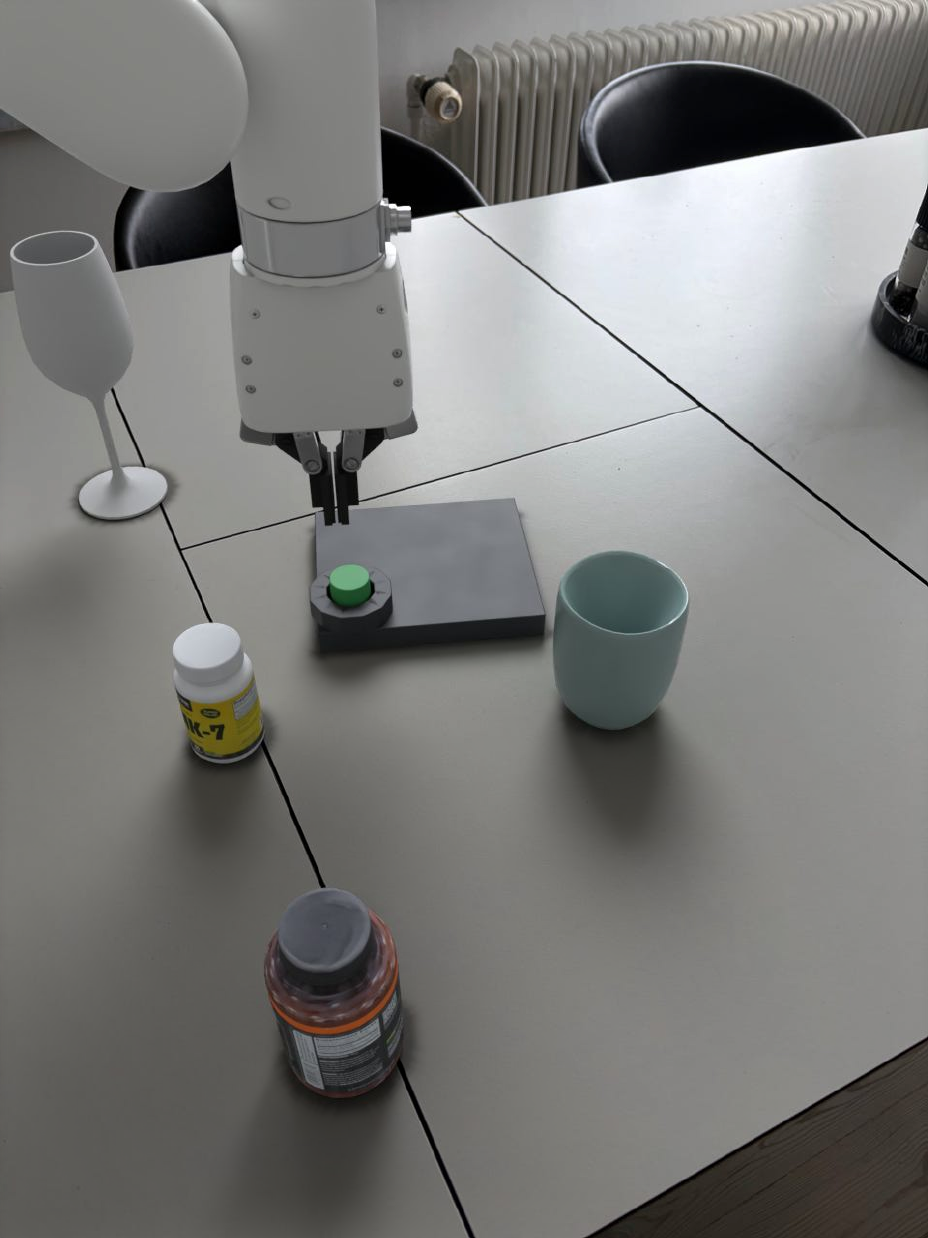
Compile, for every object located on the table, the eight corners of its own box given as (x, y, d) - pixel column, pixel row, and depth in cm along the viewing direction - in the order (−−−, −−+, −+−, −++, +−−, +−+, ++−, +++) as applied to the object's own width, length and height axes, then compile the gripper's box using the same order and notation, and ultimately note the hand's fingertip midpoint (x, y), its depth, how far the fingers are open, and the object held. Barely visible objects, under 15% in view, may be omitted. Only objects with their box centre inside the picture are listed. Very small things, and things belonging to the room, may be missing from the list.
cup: (525, 697, 67) (532, 585, 61) (606, 645, 71) (621, 533, 64) (609, 767, 63) (627, 655, 56) (690, 708, 67) (716, 596, 60)
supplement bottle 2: (289, 989, 52) (259, 868, 45) (403, 982, 53) (393, 860, 45) (282, 1108, 48) (247, 996, 40) (407, 1099, 48) (396, 986, 41)
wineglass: (61, 491, 84) (-22, 245, 70) (143, 457, 88) (80, 217, 74) (103, 533, 80) (24, 281, 66) (187, 495, 84) (130, 249, 70)
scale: (315, 657, 70) (309, 620, 68) (312, 531, 81) (308, 495, 78) (545, 637, 72) (548, 601, 69) (513, 516, 82) (515, 480, 80)
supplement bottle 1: (175, 748, 64) (147, 655, 58) (221, 700, 67) (199, 607, 61) (235, 777, 63) (212, 684, 57) (280, 726, 66) (263, 633, 60)
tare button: (331, 608, 69) (329, 591, 68) (330, 582, 71) (328, 565, 70) (372, 605, 70) (370, 588, 68) (369, 579, 72) (368, 562, 70)
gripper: (446, 201, 56) (444, 473, 69) (174, 208, 55) (222, 486, 67) (462, 256, 51) (457, 541, 63) (160, 266, 49) (216, 556, 62)
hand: (336, 512), depth 65 cm, fingers closed
